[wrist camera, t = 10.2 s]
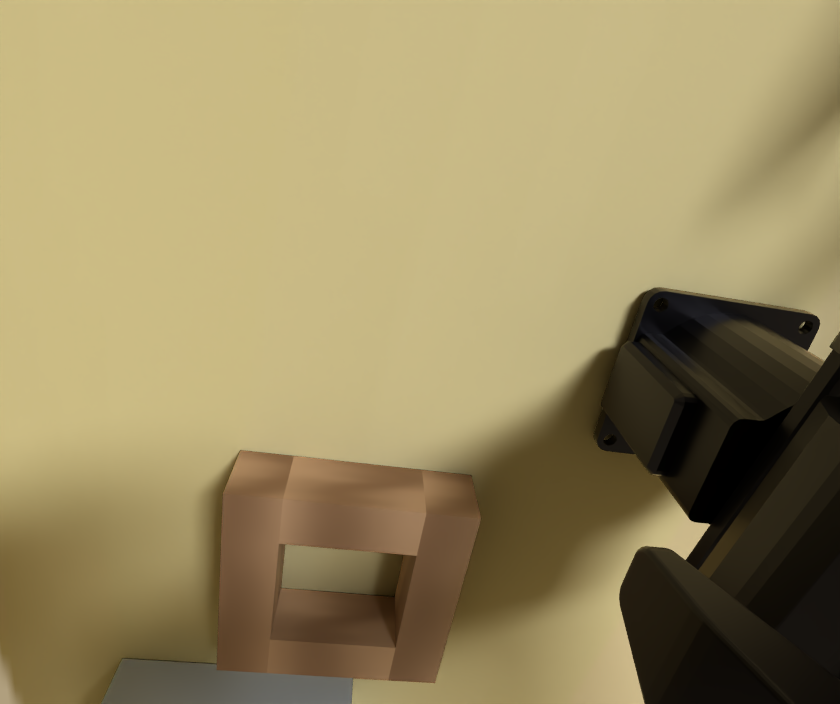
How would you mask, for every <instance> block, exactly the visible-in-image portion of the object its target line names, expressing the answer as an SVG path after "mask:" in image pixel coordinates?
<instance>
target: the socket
mask: <svg viewBox="0 0 840 704" xmlns="http://www.w3.org/2000/svg"><path fill="white" fill-rule="evenodd" d="M352 686H353V678H340V677H323V676H306V675H289V674H272V673H255V672H238V671H221V670H217V664H205V663H189V662H172V661H155V660H139V659H122V660H121V662H120V664H119V666H118V669H117V671H116V673H115V675H114V677H113V679H112V681H111V684H110V686H109V688H108V690H107V692H106V694H105V696H104V698H103V701H102V703H101V704H352Z"/></svg>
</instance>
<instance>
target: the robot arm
mask: <svg viewBox="0 0 840 704" xmlns="http://www.w3.org/2000/svg"><path fill="white" fill-rule="evenodd" d="M659 298H663V302H662V304H661V305H660V306H659V307H657V308H654V303H655V302H656V300H658V299H659ZM803 322H805V324H804V326H803V327H802V328H800V329H799V326H800V325H801V324H802V323H803ZM819 326H820V320H819V319H818V317H817V316H815V315H813V314H811V313H809V312H807V311H804V310H798V309H792V308H786V307H780V306H773V305H767V304H761V303H755V302H748V301H742V300H736V299H730V298H723V297H717V296H711V295H705V294H698V293H692V292H686V291H680V290H673V289H667V288H661V287H660V288H653V289H651V290H649V291H648V292H647V293H646V294H645V295H644V297H643V299H642V301H641V304H640V307H639V309H638V312H637V315H636V318H635V320H634V323H633V326H632V329H631V332H630V334H629V337H628V340H627V342H626V343H625V344H623V345H622V346H621V348H620V351H619V354H618V357H617V360H616V362H615V365H614V368H613V371H612V374H611V376H610V379H609V382H608V385H607V388H606V390H605V393H604V396H603V399H602V402H601V406H602V408H603V409H602V412H601V415H600V417H599V420H598V423H597V426H596V429H595V431H594V440H595V442H596V443H597V445H598V447H599V448H601V449H602V450H605V451H612V452H620V453H629V454H636V456H637V457H638V459H639V460H640V462H641V463H642V464H643V466H644V467H645V469H646V470H647V471H648V473H649V474H651V475H657V476H659V478H660V479H661V481H662V482H663V483H664V485H665V486H666V487H667V489H668V490H669V492H670V493H671V494H672V496H673V497H674V498H675V500H676V501H677V502H678V504H679V505H680V507H681V508H682V509H683V511H684V512H685V513H686V515H687V516H688V518H689V519H690V520H691V521H693V522H698V523H708V524H710V526H709V528H708V529H707V531H706V532H705V533H704V535H703V536H702V538H701V539H700V541H699V542H698V543H697V545H696V546H695V548H694V549H693V551H692V552H691V553H690V555H689V556H688V558H687V559H686V560H684V559H683V558H682V557H680V556H679V555H678V554H677V553H675V552H674V551H672V550H670V549H667V548H659V547H649V546H645V547H641V548H640V549H639V550H637V552H636V554H635V556H634V558H633V560H632V563H631V565H630V567H629V569H628V571H627V574H626V576H625V578H624V580H623V583H622V585H621V588H620V594H619V600H620V607H621V611H622V615H623V619H624V623H625V627H626V631H627V635H628V639H629V643H630V647H631V651H632V655H633V659H634V663H635V667H636V671H637V675H638V679H639V683H640V687H641V691H642V695H643V699H644V703H645V704H840V332H839V333H838V335H837V336H836V338H835V339H834V341H833V342H832V343H831V345H830V346H829V347H830V348H832V349H833V350H832V352H831V353H830V355H829V356H828V357H827V359H826V360H825V361H823V360H822V359H820V358H818V357H817V356H815V355H813V354H812V353H810V352H808V349H809V347H810V345H811V343H812V341H813V339H814V337H815V335H816V333H817V331H818V329H819ZM610 434H613V435H612V436H611V438H609V439H606V440H604V438H605V437H606V436H607V435H610Z"/></svg>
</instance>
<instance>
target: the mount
mask: <svg viewBox="0 0 840 704" xmlns="http://www.w3.org/2000/svg"><path fill="white" fill-rule="evenodd" d="M480 522H481V516H480V511H479V507H478V503H477V498H476V494H475V490H474V485H473V481H472V477H471V475H464V474H454V473H445V472H436V471H427V470H418V469H408V468H399V467H390V466H381V465H371V464H362V463H353V462H344V461H335V460H325V459H316V458H307V457H298V456H289V455H279V454H270V453H261V452H252V451H243V450H240V453H239V455H238V458H237V460H236V463H235V465H234V467H233V470H232V472H231V475H230V477H229V480H228V482H227V485H226V487H225V489H224V492H223V503H222V531H221V560H220V588H219V616H218V644H217V670H221V671H238V672H255V673H272V674H289V675H306V676H323V677H340V678H357V679H374V680H392V681H409V682H426V683H435V681H436V677H437V674H438V670H439V666H440V663H441V659H442V656H443V652H444V649H445V645H446V642H447V638H448V635H449V631H450V628H451V624H452V620H453V617H454V613H455V610H456V606H457V603H458V599H459V596H460V592H461V589H462V585H463V582H464V578H465V575H466V571H467V567H468V564H469V560H470V557H471V553H472V550H473V546H474V543H475V539H476V536H477V532H478V529H479V525H480ZM285 544H290V545H301V546H312V547H324V548H335V549H346V550H358V551H369V552H380V553H392V554H403V555H404V556H403V560H402V565H401V570H400V574H399V579H398V583H397V588H396V593H395V597H388V596H375V595H362V594H349V593H337V592H324V591H311V590H298V589H285V588H281V583H282V573H283V563H284V552H285Z"/></svg>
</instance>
